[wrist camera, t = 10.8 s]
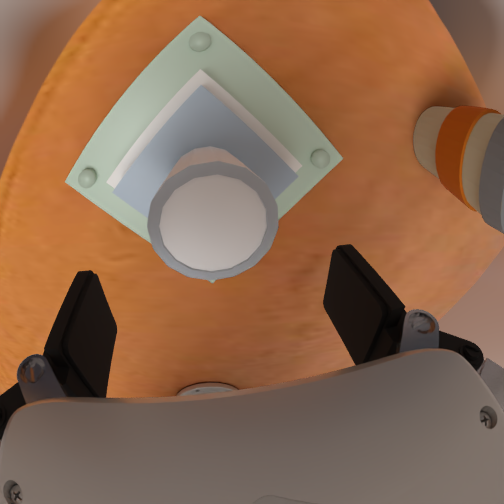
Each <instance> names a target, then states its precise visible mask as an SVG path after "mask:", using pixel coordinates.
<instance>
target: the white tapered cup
mask: <svg viewBox="0 0 504 504" xmlns="http://www.w3.org/2000/svg"><path fill="white" fill-rule="evenodd" d="M147 229H148V233H149V236H150V240H151V243H152V247H153V249H154V250H155V252H156V253H157V254H158V255H159V256H160V258H161V259H162V260H163V261H164V262H165V263H166V265H167V266H168V267H170V268H172V269H174V270H176V271H178V272H180V273H181V274H183V275H185V276H187V277H191V278H198V279H204V280H217V279H223V278H228V277H234V276H236V275H238V274H240V273H242V272H244V271H245V270H247V269H249V268H251V267H253V266H255V265H256V264H257V262H258V261H259V260H260V259H261V258H262V257H263V256H264V255H265V254H266V253H267V252H268V251H269V250H270V248H271V245H272V243H273V240H274V238H275V235H276V233H277V230H278V205H277V203H276V201H275V199H274V197H273V195H272V193H271V191H270V189H269V187H268V186H267V184H266V183H265V182H264V181H263V180H262V179H261V178H259V177H258V176H257V175H256V174H255V173H254V172H252V171H251V170H250V169H249V168H248V167H247V166H245V165H244V164H243V163H242V162H241V161H239V160H238V159H237V158H236V157H234V156H233V155H232V154H230V153H229V152H228V151H226V150H224V149H220V148H216V147H212V146H208V147H202V148H195V149H193V150H191V151H190V152H188V153H186V154H185V155H183V156H182V157H181V158H180V159H179V160H178V162H177V163H176V164H175V166H174V167H173V169H172V170H171V172H170V173H169V175H168V176H167V178H166V179H165V181H164V182H163V184H162V185H161V187H160V188H159V190H158V192H157V193H156V195H155V196H154V198H153V200H152V201H151V204H150V210H149V216H148V222H147Z"/></svg>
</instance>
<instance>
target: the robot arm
mask: <svg viewBox="0 0 504 504" xmlns="http://www.w3.org/2000/svg"><path fill="white" fill-rule="evenodd" d="M323 304H324V308H325V310H326V312H327V314H328V315H329V317H330V319H331V321H332V323H333V324H334V326H335V328H336V330H337V332H338V334H339V335H340V337H341V339H342V341H343V343H344V344H345V346H346V348H347V350H348V352H349V354H350V356H351V357H352V359H353V361H354V363H355V365H356V366H352V367H348V368H345V369H341V370H337V371H333V372H329V373H325V374H321V375H317V376H312V377H308V378H303V379H298V380H293V381H288V382H283V383H278V384H272V385H267V386H261V387H255V388H248V389H241V390H238V389H236V388H235V387H233V386H230V385H227V384H222V383H201V384H196V385H192V386H189V387H186V388H184V389H183V390H181V391H180V392H179V393H178V394H177V395H176V396H171V397H148V398H106V393H107V386H108V379H109V373H110V366H111V361H112V355H113V349H114V344H115V339H116V334H117V325H116V322H115V320H114V317H113V315H112V312H111V310H110V307H109V305H108V302H107V300H106V297H105V294H104V292H103V289H102V286H101V283H100V281H99V278H98V275H97V274H94V273H93V272H92V271H91V270H89V271H79V272H78V273H77V274H76V276H75V278H74V280H73V282H72V284H71V286H70V288H69V291H68V293H67V295H66V297H65V299H64V301H63V303H62V306H61V308H60V310H59V313H58V315H57V317H56V320H55V322H54V324H53V327H52V329H51V332H50V334H49V337H48V339H47V342H46V345H45V347H44V350H45V351H44V353H43V356H42V355H39V354H34V355H31V356H29V357H27V358H26V359H24V360H23V361H22V363H21V364H20V365H19V368H18V370H17V380H18V383H16V384H15V385H14V386H12V387H11V388H10V389H8V390H7V391H6V392H4V393H3V394H2V395H1V396H0V504H504V369H503V368H502V367H501V366H499V365H497V364H496V363H494V362H493V361H491V360H490V359H488V358H486V360H484V358H483V353H482V351H481V350H480V348H479V347H478V346H477V345H476V344H474V343H472V342H470V341H467V340H465V339H462V338H459V337H456V336H453V335H450V334H447V333H445V332H441V331H439V325H438V322H437V320H436V319H435V318H434V316H433V315H431V314H430V313H428V312H426V311H424V310H419V309H416V310H411V311H409V312H408V313H407V312H406V311H405V310H404V308H405V305H404V304H403V303H402V302H401V301H400V299H399V298H398V297H397V296H396V295H395V293H394V292H393V291H392V290H391V289H390V287H389V286H388V285H387V284H386V283H385V282H384V280H383V279H382V278H381V277H380V276H379V275H378V273H377V272H376V271H375V270H374V269H373V268H372V267H371V266H370V264H369V263H368V262H367V261H366V260H365V259H364V258H363V257H362V255H361V254H360V253H359V252H358V251H357V250H356V249H355V248H354V247H353V246H352V245H351V244H348V245H339V246H337V247H336V249H334V250H333V252H332V256H331V262H330V268H329V274H328V279H327V284H326V290H325V295H324V300H323Z"/></svg>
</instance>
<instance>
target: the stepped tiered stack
mask: <svg viewBox="0 0 504 504" xmlns="http://www.w3.org/2000/svg"><path fill="white" fill-rule="evenodd" d="M208 146H212V147H216V148H220V149H224V150H226V151H228V152H229V153H230V154H232V155H233V156H234V157H236V158H237V159H238V160H239V161H241V162H242V163H243V164H244V165H245V166H247V167H248V168H249V169H250V170H251V171H252V172H254V173H255V174H256V175H257V176H258V177H259V178H261V179H262V180H263V181H264V182H265V183H266V184H267V186H268V187H269V189H270V191H271V193H272V195H273V197H274V199H275V201H276V203H277V205H278V220H279V219H280V218H281V217H282V216H283V215H284V214H285V213H286V212H288V211H289V210H290V209H291V208H292V207H293V206H294V205H295V204H296V203H297V202H298V201H299V200H300V199H301V198H302V197H303V196H304V195H305V194H306V193H307V192H308V191H310V190H311V189H312V188H313V187H314V186H315V185H316V184H317V183H318V182H319V181H320V180H321V179H322V178H323V177H324V176H325V175H326V174H327V173H328V172H329V171H331V170H332V169H333V168H334V167H335V166H336V165H337V164H338V163H339V162H340V161H341V160H342V159H343V158H342V156H341V155H340V154H339V153H338V151H337V150H336V149H335V148H334V146H333V145H332V144H331V143H330V141H329V140H328V139H327V138H326V137H325V135H324V134H323V133H322V132H321V131H320V129H319V128H318V127H317V126H316V125H315V124H314V122H313V121H312V120H311V119H310V118H309V117H308V116H307V114H306V113H305V112H304V111H303V110H302V109H301V108H300V107H299V106H298V105H297V103H296V102H295V101H294V100H293V99H292V98H291V97H290V96H289V95H288V94H287V93H286V92H285V91H284V90H283V89H282V88H281V87H280V86H279V85H278V84H277V83H276V82H275V81H274V80H273V79H272V78H271V77H270V76H269V75H268V74H267V73H266V72H265V71H264V70H263V69H262V68H261V67H260V66H259V65H258V64H257V63H256V62H255V61H254V60H253V59H251V58H250V57H249V56H248V55H247V54H246V53H245V52H244V51H243V50H241V49H240V48H239V47H238V46H237V45H236V44H235V43H233V42H232V41H231V40H230V39H229V38H228V37H226V36H225V35H224V34H223V33H222V32H220V31H219V30H218V29H217V28H215V27H214V26H213V25H212V24H210V23H209V22H208V21H207V20H205V19H204V18H203V17H201V16H199V17H198V18H196V19H195V20H194V21H193V22H192V23H191V24H190V25H188V26H187V27H186V28H185V29H184V30H183V31H182V32H181V33H180V34H179V35H177V36H176V37H175V38H174V39H173V40H172V41H171V42H170V43H169V44H168V45H167V46H166V47H165V48H164V49H163V50H162V51H161V52H160V53H159V54H158V55H157V56H156V57H155V58H154V59H153V61H152V62H151V63H150V64H149V65H148V66H147V67H146V68H145V69H144V70H143V71H142V73H141V74H140V75H139V76H138V77H137V78H136V79H135V81H134V82H133V83H132V84H131V85H130V87H129V88H128V89H127V90H126V91H125V93H124V94H123V95H122V96H121V98H120V99H119V100H118V102H117V103H116V104H115V105H114V107H113V108H112V109H111V111H110V112H109V113H108V115H107V116H106V118H105V119H104V120H103V122H102V123H101V125H100V126H99V127H98V129H97V130H96V132H95V133H94V135H93V136H92V138H91V139H90V141H89V142H88V144H87V145H86V147H85V149H84V150H83V152H82V153H81V155H80V157H79V158H78V160H77V162H76V163H75V165H74V167H73V168H72V170H71V172H70V174H69V175H68V177H67V179H66V181H65V182H66V183H67V184H69V185H70V186H71V187H73V188H74V189H75V190H77V191H78V192H79V193H81V194H82V195H83V196H85V197H86V198H87V199H89V200H90V201H91V202H93V203H94V204H96V205H97V206H98V207H100V208H101V209H102V210H104V211H105V212H107V213H108V214H109V215H111V216H112V217H114V218H115V219H117V220H118V221H119V222H121V223H122V224H124V225H125V226H127V227H128V228H129V229H131V230H132V231H134V232H135V233H137V234H138V235H140V236H141V237H142V238H144V239H145V240H147V241H148V242H150V243H151V240H150V236H149V233H148V229H147V222H148V216H149V210H150V204H151V201H152V200H153V198H154V196H155V195H156V193H157V192H158V190H159V188H160V187H161V185H162V184H163V182H164V181H165V179H166V178H167V176H168V175H169V173H170V172H171V170H172V169H173V167H174V166H175V164H176V163H177V162H178V160H179V159H180V158H181V157H182V156H183V155H185V154H186V153H188V152H190V151H191V150H193V149H195V148H202V147H208ZM151 244H152V243H151ZM208 281H209V282H211V283H214V282H215V281H216V280H208Z"/></svg>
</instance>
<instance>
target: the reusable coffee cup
mask: <svg viewBox="0 0 504 504" xmlns="http://www.w3.org/2000/svg"><path fill="white" fill-rule="evenodd" d="M413 145H414V151H415V155H416V157H417V160H418V161H419V163H420V164H421V165H422V166H423V167H424V168H425V169H427V170H428V171H430V172H431V173H432V174H433V175H435V176H436V177H437V178H439V179H440V181H441V183H442V184H443V186H444V187H445V188H446V189H447V190H449V191H450V192H451V193H452V194H453V195H454V196H456V197H457V198H458V199H459V200H460V201H461V202H463V203H464V204H465V205H466V206H467V207H468V208H470V209H471V210H473V211H478V212H479V213H480V214H481V215H482V218H483V219H484V221H485V223H487V224H488V225H490V226H491V227H493V228H495V229H497V230H498V231H500V232H502V233H503V234H504V115H502V114H501V113H499V112H498V111H496V110H493V109H488V108H481V107H473V106H458V107H456V108H451V107H440V106H434V107H430V108H428V109H426V110H425V111H424V112H423V113H422V114H421V115H420V117H419V119H418V121H417V123H416V126H415V130H414V136H413Z"/></svg>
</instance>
